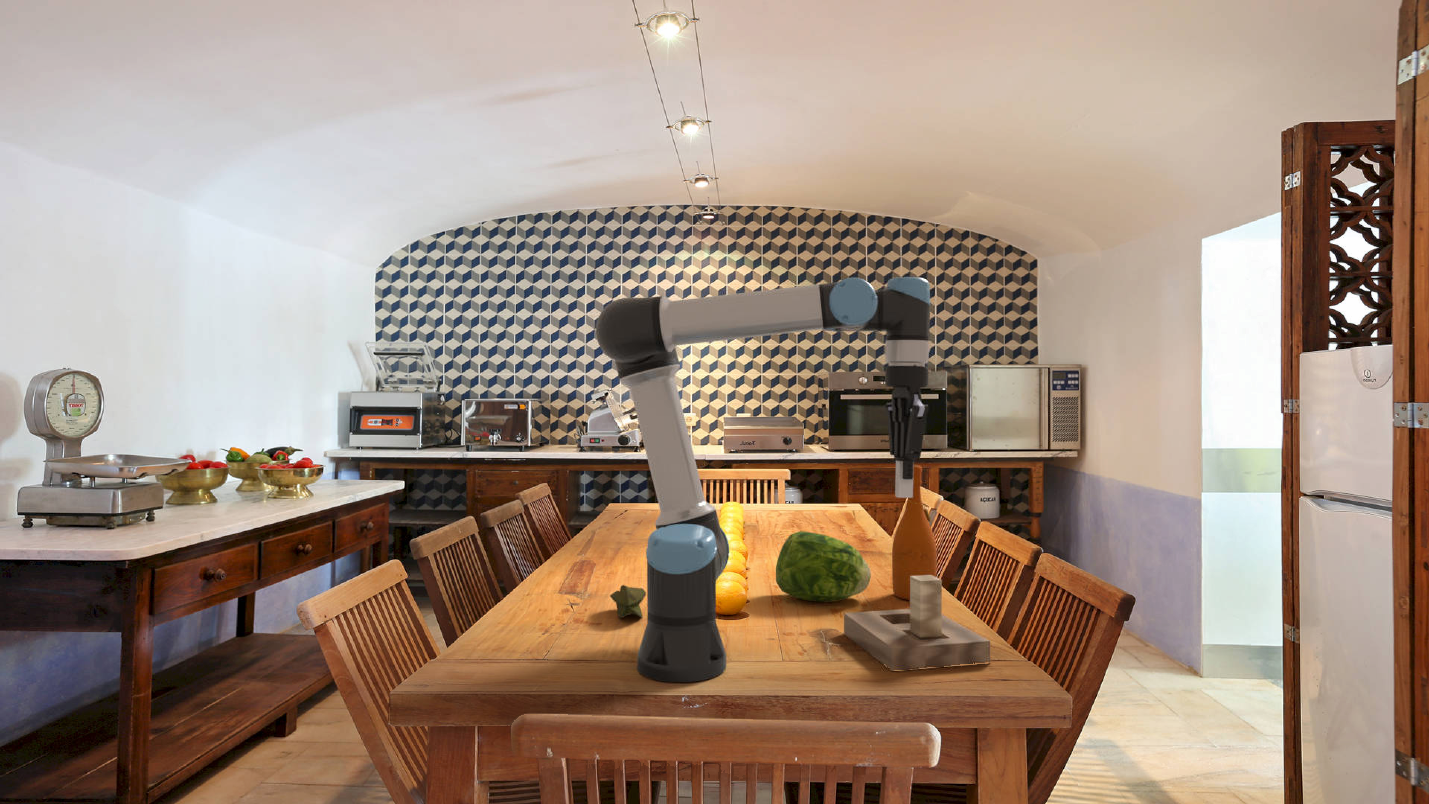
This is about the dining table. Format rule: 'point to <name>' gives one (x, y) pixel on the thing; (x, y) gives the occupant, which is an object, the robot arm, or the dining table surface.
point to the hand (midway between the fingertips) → (903, 496)
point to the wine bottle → (913, 543)
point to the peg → (925, 607)
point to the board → (913, 641)
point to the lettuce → (820, 568)
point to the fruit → (628, 600)
